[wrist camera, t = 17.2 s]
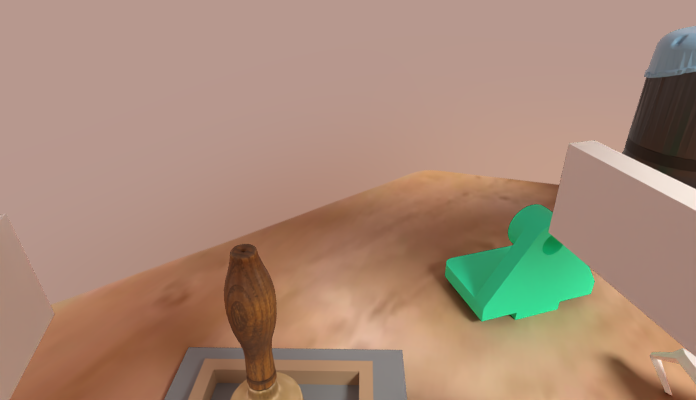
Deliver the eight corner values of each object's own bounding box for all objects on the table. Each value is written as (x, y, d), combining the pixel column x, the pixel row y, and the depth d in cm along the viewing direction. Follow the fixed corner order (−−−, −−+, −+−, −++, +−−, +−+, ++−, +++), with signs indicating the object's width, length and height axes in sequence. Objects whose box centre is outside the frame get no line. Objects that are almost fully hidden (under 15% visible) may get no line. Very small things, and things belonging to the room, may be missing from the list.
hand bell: (207, 417, 31) (156, 225, 23) (321, 386, 33) (307, 201, 25) (210, 549, 24) (137, 334, 16) (354, 499, 26) (349, 288, 18)
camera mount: (536, 258, 49) (555, 176, 44) (588, 302, 42) (616, 210, 37) (440, 280, 46) (449, 193, 41) (480, 330, 39) (496, 234, 34)
